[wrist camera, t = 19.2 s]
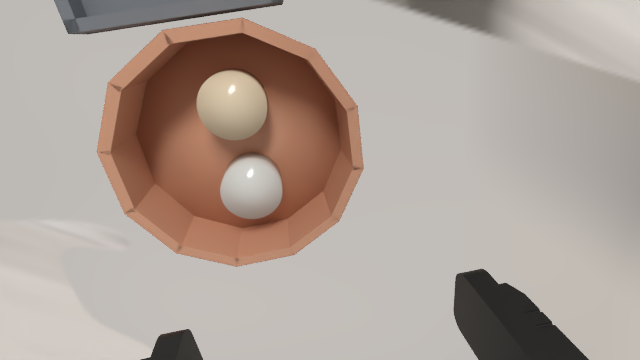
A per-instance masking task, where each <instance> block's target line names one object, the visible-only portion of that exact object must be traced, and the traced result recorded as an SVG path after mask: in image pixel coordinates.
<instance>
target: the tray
mask: <svg viewBox="0 0 640 360" xmlns="http://www.w3.org/2000/svg"><path fill="white" fill-rule="evenodd" d="M54 1H55V4H56V6H57V8H58V11H59V13H60V16H61V18H62V20H63V23H64V25H65V27H66V30H67V32H68V34H92V33H98V32H105V31H112V30H118V29H124V28H131V27H138V26H144V25H151V24H157V23H164V22H171V21H177V20H184V19H190V18H197V17H204V16H210V15H217V14H223V13H229V12H236V11H243V10H250V9H256V8H263V7H269V6H276V5H282V4H283V0H54Z"/></svg>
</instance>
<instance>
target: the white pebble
mask: <svg viewBox="0 0 640 360" xmlns="http://www.w3.org/2000/svg"><path fill="white" fill-rule="evenodd" d="M220 195H221V199H222V202H223V204H224V205H225V207H226V208H227V209H228V210H229V211H230V212H232V213H233V214H235V215H236V216H239V217H241V218H246V219H258V218H262V217H265V216H267V215H269V214H270V213H272V212H273V211H274V210H275V209H276V208H277V207H278V205H279V204H280V202H281V199H282V177H281V172H280V169H279V167H278V166H277V164H276V163H275V162H274V161H273V160H272V159H271V158H269V157H268V156H266V155H264V154H260V153H254V152H250V153H245V154H241V155H239V156H237V157H236V158H234V159H233V160H232V161H231V162H230V163H229V165H228V166H227V168H226V171H225V174H224V177H223V180H222V183H221V187H220Z"/></svg>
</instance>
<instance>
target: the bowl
mask: <svg viewBox="0 0 640 360" xmlns="http://www.w3.org/2000/svg"><path fill="white" fill-rule="evenodd" d="M227 68H239V69H243V70H246V71H248V72H250V73H252V74H253V75H254V76H256V77H257V78H258V79H259V80H260V82H261V83H262V85H263V86H264V88H265V91H266V94H267V115H266V119H265V121H264V124H263V125H262V127H261V128H260V129H259V131H257V132H256V133H255V134H254V135H252V136H250V137H248V138H246V139H242V140H227V139H223V138H220V137H218V136H216V135H214V134H213V133H212V132H210V131H209V130H208V129H207V128H206V127H205V126H204V124H203V123H202V121H201V119H200V117H199V114H198V111H197V96H198V92H199V90H200V88H201V86H202V85H203V83H204V82H205V81H206V80H207V79H208V78H210V77H211V76H213V75H214V74H216V73H217V72H219V71H221V70H223V69H227ZM250 152H254V153H260V154H264V155H266V156H268V157H269V158H271V159H272V160H273V161H274V162H275V163H276V164H277V166H278V167H279V169H280V172H281V177H282V199H281V202H280V204H279V205H278V207H277V208H276V209H275V210H274V211H273V212H272V213H270V214H269V215H267V216H265V217H262V218H258V219H246V218H241V217H239V216H236V215H235V214H233V213H232V212H230V211H229V210H228V209H227V208H226V207H225V205H224V204H223V202H222V199H221V195H220V187H221V183H222V180H223V177H224V174H225V171H226V168H227V166H228V165H229V163H230V162H231V161H232V160H233V159H234V158H236V157H237V156H239V155H241V154H245V153H250ZM97 154H98V156H99V158H100V160H101V163H102V165H103V167H104V169H105V171H106V174H107V175H108V178H109V180H110V182H111V184H112V187H113V189H114V191H115V193H116V196H117V198H118V200H119V202H120V205H121V207H122V209H123V211H124V213H125V214H126V215H127V216H128V217H130V218H131V219H132V220H134V221H135V222H136V223H138V224H139V225H140V226H142V227H143V228H144V229H145V230H147V231H148V232H150V233H151V234H152V235H153V236H155V237H156V238H157V239H158V240H160V241H161V242H162V243H164V244H165V245H166V246H168V247H169V248H170V249H172V250H173V251H174V252H175V253H178V254H183V255H187V256H191V257H196V258H200V259H205V260H209V261H214V262H218V263H223V264H227V265H232V266H236V267H237V266H242V265H247V264H252V263H257V262H262V261H266V260H271V259H276V258H281V257H286V256H291V255H295V253H297V252H298V251H300V250H301V249H303V248H304V247H305V246H306V245H308V244H309V243H311V242H312V241H313V240H314V239H316V238H317V237H318V236H319V235H321V234H322V233H324V232H325V231H326V230H327V229H329V228H330V227H332V226H333V225H334V224H336V223H337V222H338V221H339V220H340V218H341V216H342V214H343V212H344V210H345V207H346V205H347V203H348V201H349V199H350V197H351V195H352V192H353V190H354V188H355V186H356V184H357V182H358V179H359V177H360V175H361V173H362V171H363V158H362V147H361V137H360V127H359V117H358V106H357V105H356V103H355V102H354V101H353V99H352V98H351V97H350V95H349V94H348V93H347V91H346V90H345V89H344V87H343V86H342V84H341V83H340V82H339V80H338V79H337V78H336V77H335V75H334V74H333V72H332V71H331V69H330V68H329V67H328V65H327V64H326V63H325V61H324V60H323V59H322V58H321V56H320V55H319V53H318V52H317V51H316V49H314V48H312V47H310V46H307V45H305V44H303V43H300V42H298V41H295V40H293V39H291V38H289V37H286V36H284V35H282V34H279V33H277V32H275V31H272V30H270V29H268V28H265V27H263V26H261V25H258V24H256V23H254V22H251V21H249V20H247V19H244V18H238V19H231V20H225V21H218V22H212V23H206V24H199V25H192V26H186V27H180V28H173V29H167V30H162V31H161V32H160V33H159V34H158V35H157V36H156V37H155V38H154V39H153V40H152V41H151V42H150V43H149V44H148V45H147V46H146V47H144V48H143V50H142V51H141V52H139V54H137V55H136V56H135V57H134V58H133V59H132V60H131V61H130V62H129V63H128V64H127V65H126V66H125V67H124V68H123V69H122V70H121V71H120V72H118V73H117V74H116V75H115V76H114V77H113V78H112V79H111V80H110V81H109V82H108V86H107V92H106V98H105V104H104V110H103V117H102V123H101V129H100V135H99V142H98V148H97Z"/></svg>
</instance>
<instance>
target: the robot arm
mask: <svg viewBox="0 0 640 360" xmlns="http://www.w3.org/2000/svg"><path fill="white" fill-rule="evenodd" d="M454 316H455V319H456V322H457V325H458V327H459V329H460V331H461V333H462V334H463V336H464V338H465V339H466V340H467V342H468V344H469V345H470V347H471V348H472V350H473V351H474V353H475V355H476V356H477V358H478V359H479V360H589V359H588V358H587V357H586V356H584V354H583V353H582V352H581V351H580V350H579V349H578V348H577V347H576V346H575V345H574V344H573V343H572V342H571V341H570V340H569V339H568V338H567V337H566V336H565V335H564V334H563V333H562V332H561V331H560V330H559V329H558V328H557V327H556V326H555V325H552V321H550V319H548V317H547V316H546V315H545V314H544V313H543V312H540V310H539V308H538V307H537V306H536V305H535V304H534V303H533V302H532V301H531V300H530V299H529V298H528V297H527V296H526V295H525V294H524V293H522V292H520V291H519V290H517V289H515V288H514V287H512V286H510V285H508V284H507V283H503V284H498V283H497V282H496V281H495V280H494V279H493V278H492V277H491V275H490V274H489V273H488V272H487V271H485V270H484V269H479V270H474V271H469V272H464V273H460V274H457V276H456V281H455V298H454ZM141 360H203V358H202V356H201V353H200V351H199V349H198V347H197V344H196V342H195V340H194V337H193V335H192V333H191V331H190V330H189V329H186V330H181V331H176V332H171V333H167V334H162V335H160V336H159V337H158V339H157V341H156V344H155V347H154V349H153V352H152V355H151V357H150V358H145V359H141Z"/></svg>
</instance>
